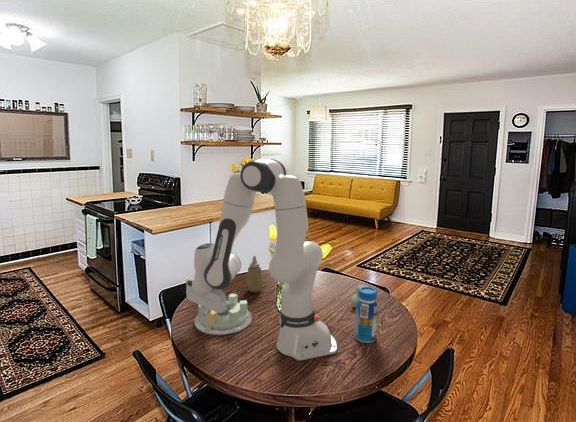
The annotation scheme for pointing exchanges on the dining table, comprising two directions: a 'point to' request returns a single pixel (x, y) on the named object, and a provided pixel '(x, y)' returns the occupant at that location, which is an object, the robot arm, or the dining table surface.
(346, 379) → the dining table surface
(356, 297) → the air freshener
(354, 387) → the dining table surface
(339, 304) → the dining table surface
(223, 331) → the mount plate
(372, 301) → the blue wipes canister
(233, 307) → the green toy gear
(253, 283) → the squeeze bottle
